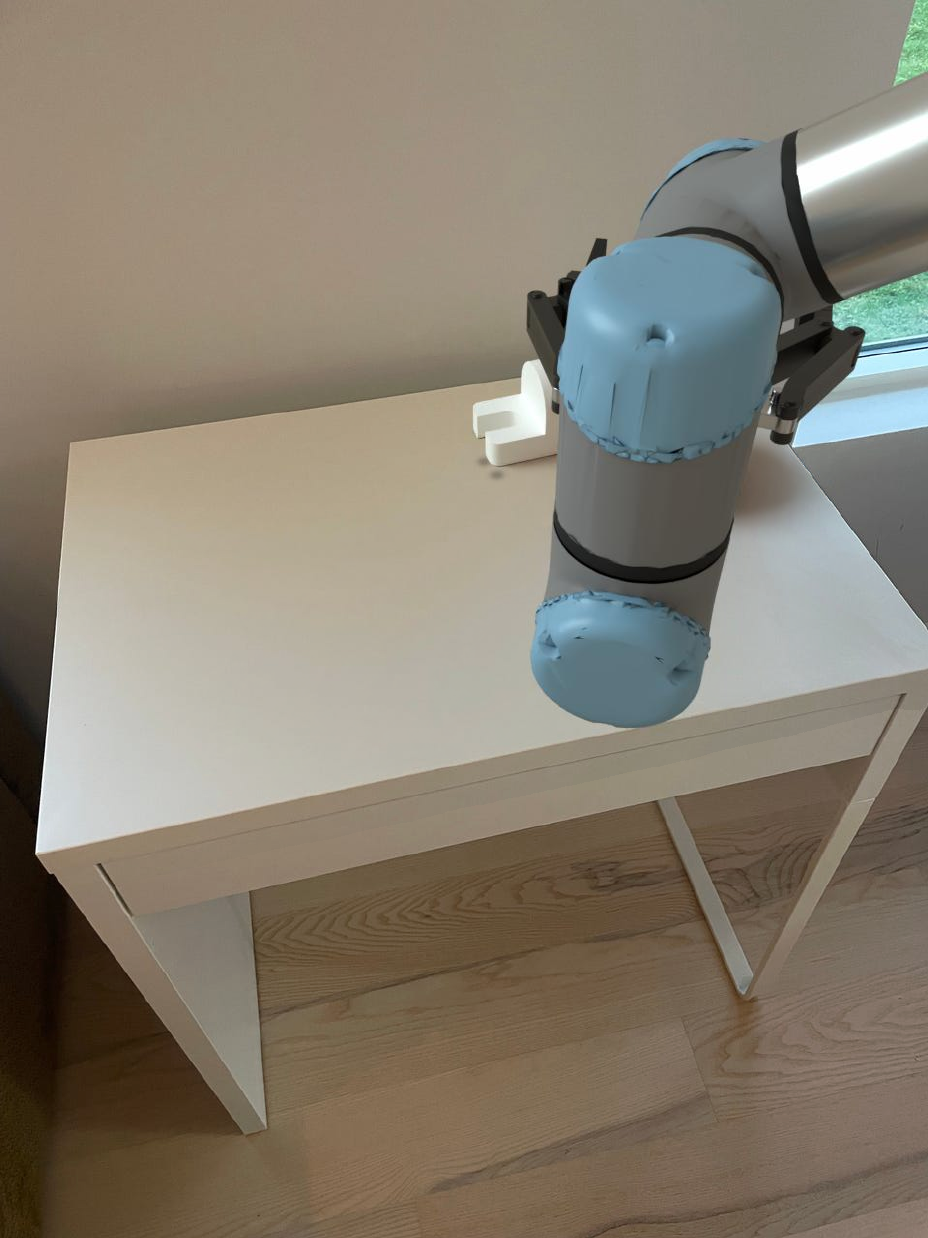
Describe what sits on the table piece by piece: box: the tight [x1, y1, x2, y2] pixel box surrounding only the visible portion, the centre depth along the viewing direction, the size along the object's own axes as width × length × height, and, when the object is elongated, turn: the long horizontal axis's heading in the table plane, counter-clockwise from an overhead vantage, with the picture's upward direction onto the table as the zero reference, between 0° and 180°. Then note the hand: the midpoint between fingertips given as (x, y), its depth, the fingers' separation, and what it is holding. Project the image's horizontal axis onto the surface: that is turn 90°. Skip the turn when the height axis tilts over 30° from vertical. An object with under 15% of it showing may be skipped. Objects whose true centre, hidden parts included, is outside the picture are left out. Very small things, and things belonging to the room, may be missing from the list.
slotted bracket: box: [472, 358, 559, 467], centre depth 92 cm, size 13×7×8 cm, turn 107°
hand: (701, 267), depth 65 cm, fingers open, 13 cm apart
